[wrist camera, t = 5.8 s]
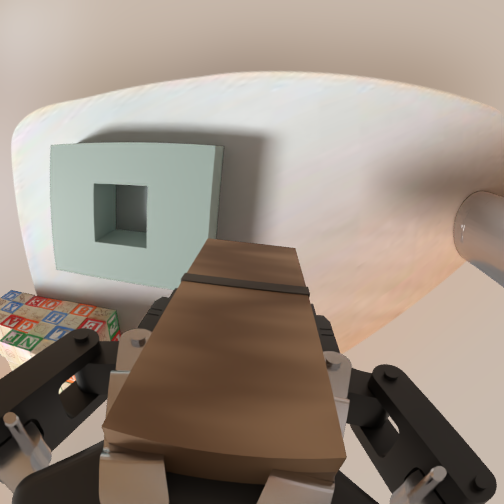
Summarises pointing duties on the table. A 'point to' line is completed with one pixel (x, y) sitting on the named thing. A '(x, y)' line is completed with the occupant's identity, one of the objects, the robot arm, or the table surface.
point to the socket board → (158, 208)
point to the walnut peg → (233, 373)
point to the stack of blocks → (47, 325)
